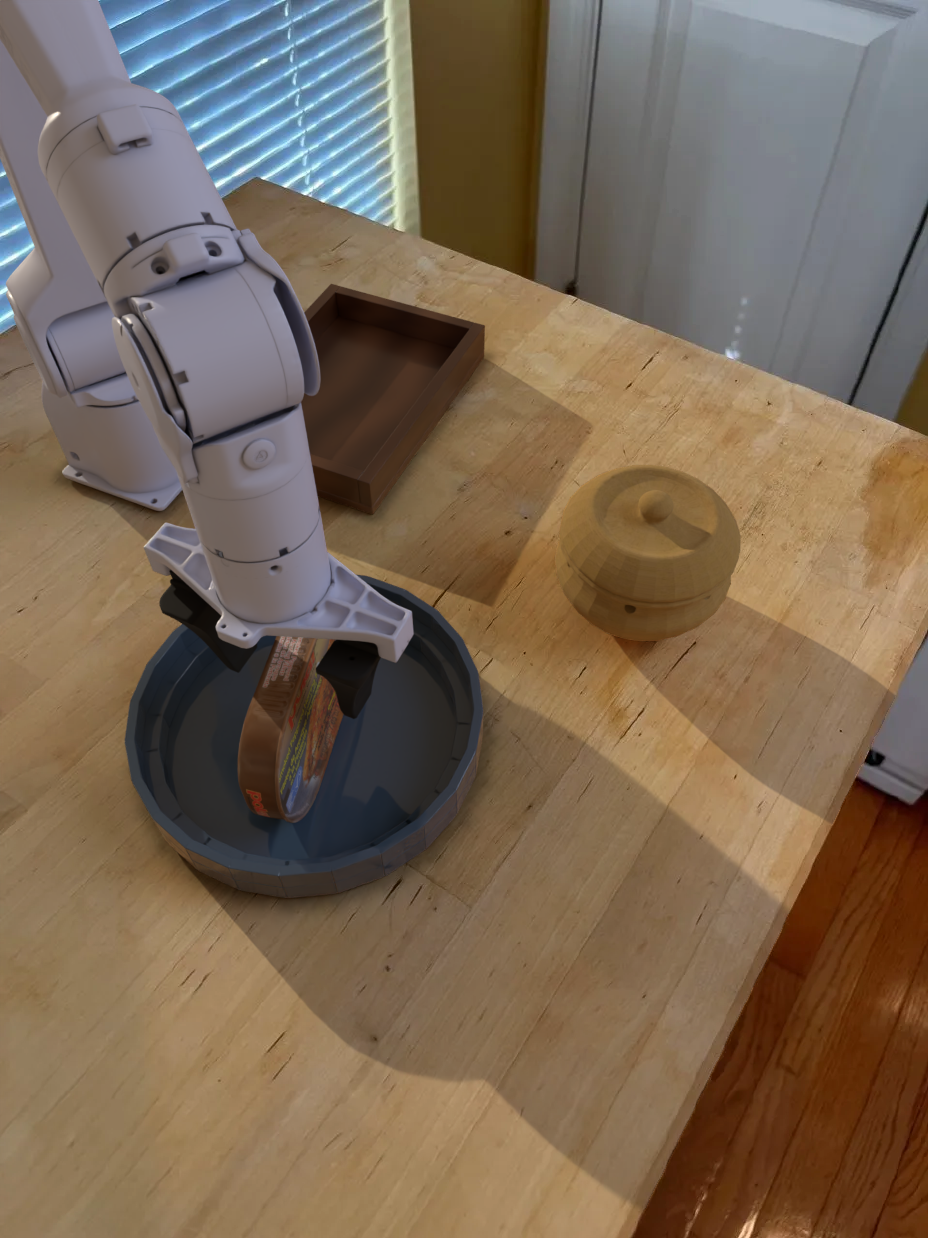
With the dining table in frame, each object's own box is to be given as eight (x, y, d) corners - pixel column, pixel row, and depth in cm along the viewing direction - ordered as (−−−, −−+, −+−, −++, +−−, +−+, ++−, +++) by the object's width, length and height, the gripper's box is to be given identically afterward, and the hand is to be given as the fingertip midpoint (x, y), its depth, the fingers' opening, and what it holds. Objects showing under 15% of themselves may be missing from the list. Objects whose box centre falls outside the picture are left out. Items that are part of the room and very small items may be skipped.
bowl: (69, 812, 56) (49, 785, 53) (259, 566, 68) (250, 533, 65) (385, 961, 51) (381, 939, 48) (532, 666, 62) (535, 635, 60)
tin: (300, 848, 54) (277, 779, 48) (248, 838, 55) (218, 768, 48) (368, 642, 63) (356, 559, 57) (323, 634, 64) (306, 552, 57)
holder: (205, 458, 75) (196, 426, 72) (335, 315, 86) (330, 283, 84) (373, 515, 71) (369, 483, 68) (484, 357, 82) (485, 324, 80)
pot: (730, 556, 68) (765, 453, 60) (705, 685, 61) (741, 589, 54) (572, 521, 70) (586, 417, 63) (532, 641, 64) (541, 542, 56)
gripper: (76, 527, 43) (154, 690, 54) (354, 631, 39) (378, 783, 50) (167, 433, 47) (222, 602, 58) (427, 519, 43) (435, 683, 54)
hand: (299, 680), depth 54 cm, fingers open, 7 cm apart
